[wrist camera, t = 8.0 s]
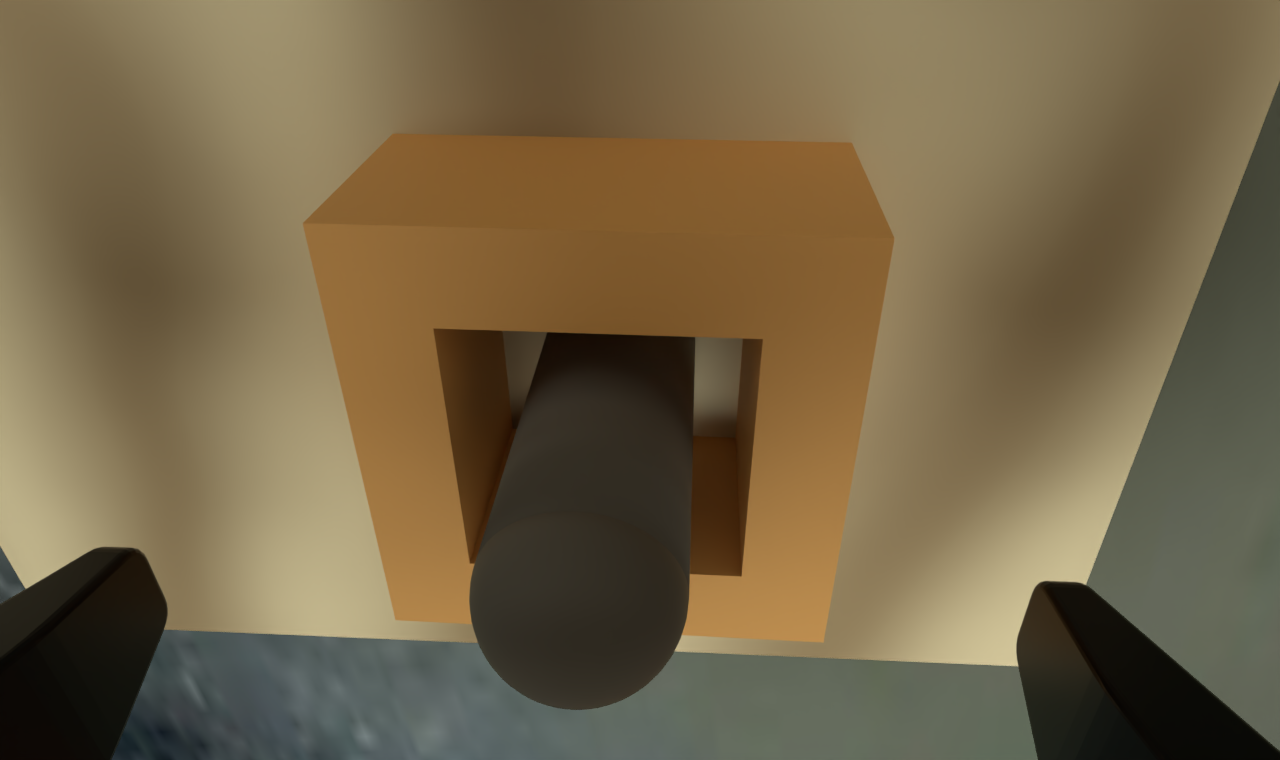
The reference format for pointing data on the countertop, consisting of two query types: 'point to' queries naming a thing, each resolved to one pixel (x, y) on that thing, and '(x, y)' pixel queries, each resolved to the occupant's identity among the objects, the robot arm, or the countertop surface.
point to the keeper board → (315, 87)
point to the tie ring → (608, 304)
